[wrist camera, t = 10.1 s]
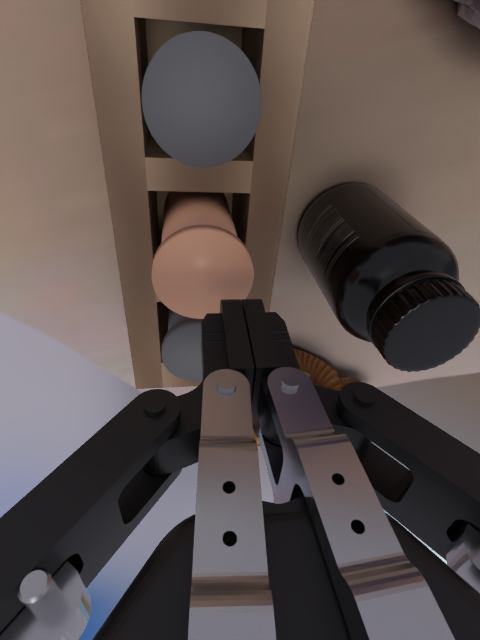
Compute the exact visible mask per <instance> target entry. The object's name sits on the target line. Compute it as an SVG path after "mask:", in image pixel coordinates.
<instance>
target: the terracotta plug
mask: <svg viewBox="0 0 480 640" xmlns="http://www.w3.org/2000/svg"><path fill="white" fill-rule="evenodd" d="M253 280H254V268H253V264H252V260H251V257H250V254H249V252H248V250H247V248H246V246H245V245H244V243H243V242H242V241H241V240H240V239H239V238H238V237H237V234H236V230H235V226H234V223H233V219H232V216H231V212H230V208H229V205H228V201H227V198H226V196H225V195H224V193H220V192H180V191H170V192H169V193H168V195H167V197H166V200H165V204H164V215H163V229H162V242H161V245H160V246H159V248H158V249H157V251H156V253H155V256H154V259H153V265H152V284H153V288H154V291H155V293H156V295H157V296H158V298H159V299H160V301H161V302H162V303H163V304H164V305H165V306H166V307H168V308H169V309H170V310H172V311H173V312H175V313H177V314H180V315H182V316H185V317H189V318H196V319H204V317H205V316H206V314H207V313H220V300H221V299H245V298H246V297H247V296H248V294H249V292H250V290H251V288H252V285H253Z"/></svg>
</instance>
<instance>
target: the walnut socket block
mask: <svg viewBox="0 0 480 640" xmlns="http://www.w3.org/2000/svg"><path fill="white" fill-rule="evenodd" d="M80 1H81V8H82V15H83V22H84V29H85V36H86V43H87V50H88V57H89V64H90V71H91V78H92V85H93V92H94V99H95V106H96V113H97V120H98V127H99V134H100V141H101V147H102V154H103V161H104V168H105V175H106V182H107V189H108V196H109V203H110V210H111V217H112V224H113V231H114V238H115V245H116V252H117V259H118V266H119V273H120V280H121V287H122V294H123V301H124V308H125V314H126V321H127V328H128V335H129V342H130V349H131V356H132V363H133V370H134V377H135V384H136V389H144V388H164V387H185V386H199V385H200V383H201V382H202V381H201V382H195V381H188V380H184V379H181V378H178V377H176V376H174V375H173V374H172V373H170V372H169V371H168V370H167V369H166V367H165V366H164V364H163V361H162V357H161V354H162V342H163V339H164V337H165V335H166V334H167V332H168V311H169V308H168V307H166V306H165V305H164V304H163V303H162V302H161V301H160V299H159V298H158V296H157V295H156V293H155V291H154V288H153V284H152V265H153V259H154V256H155V253H156V251H157V249H158V248H159V246H160V245H161V242H162V229H163V215H164V204H165V200H166V197H167V195H168V193H169V192H170V191H180V192H220V193H224V195H225V196H226V198H227V201H228V205H229V208H230V212H231V216H232V219H233V223H234V226H235V230H236V234H237V237H238V238H239V239H240V240H241V241H242V242H243V243H244V245H245V246H246V248H247V250H248V252H249V254H250V257H251V260H252V264H253V268H254V280H253V285H252V288H251V290H250V292H249V294H248V296H247V297H246V298H245V299H262V301H263V305H264V308H265V312H269V309H270V302H271V295H272V288H273V281H274V274H275V268H276V261H277V254H278V247H279V240H280V233H281V227H282V220H283V213H284V206H285V199H286V192H287V186H288V179H289V172H290V165H291V158H292V151H293V145H294V138H295V131H296V124H297V117H298V110H299V104H300V97H301V90H302V83H303V76H304V69H305V63H306V56H307V49H308V42H309V35H310V28H311V22H312V15H313V8H314V1H315V0H80ZM191 31H206V32H211V33H214V34H217V35H220V36H222V37H224V38H226V39H228V40H230V41H231V42H232V43H234V44H235V45H236V46H237V47H238V48H240V49H241V50H242V51H243V53H244V54H245V55H246V56H247V58H248V59H249V61H250V62H251V64H252V66H253V68H254V70H255V72H256V74H257V77H258V80H259V84H260V89H261V98H262V107H261V115H260V120H259V124H258V127H257V130H256V132H255V134H254V136H253V138H252V140H251V141H250V143H249V144H248V146H247V147H246V148H245V149H244V150H243V151H242V152H241V153H240V154H239V155H238V156H237V157H235V158H234V159H232V160H231V161H229V162H227V163H225V164H222V165H219V166H215V167H208V168H201V167H193V166H189V165H186V164H184V163H181V162H179V161H177V160H175V159H174V158H172V157H171V156H170V155H168V154H167V153H166V152H165V151H164V150H163V149H162V148H161V147H160V146H159V145H158V144H157V142H156V141H155V139H154V138H153V136H152V134H151V132H150V131H149V129H148V126H147V124H146V121H145V117H144V113H143V108H142V85H143V80H144V76H145V73H146V70H147V67H148V65H149V63H150V61H151V60H152V58H153V56H154V55H155V54H156V52H157V51H158V50H159V49H160V48H161V47H162V46H163V44H165V43H166V42H167V41H169V40H170V39H171V38H173V37H175V36H177V35H179V34H182V33H185V32H191Z"/></svg>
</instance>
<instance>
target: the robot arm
mask: <svg viewBox="0 0 480 640" xmlns="http://www.w3.org/2000/svg"><path fill="white" fill-rule="evenodd" d="M201 357H202V379H203V380H202V382H201V383H200V385H199V386H198V387H197V388H196V389H194V390H193V391H191V392H189V393H186V394H183V395H180V396H177V397H176V396H175V395H174V394H173V393H171V392H169V391H166V390H162V389H154V390H149V391H146V392H143V393H142V394H140V395H138V396H137V397H136V398H135V399H134V400H133V401H131V402H130V403H129V404H128V405H127V406H126V407H125V408H124V409H123V410H121V411H120V412H119V413H118V414H117V415H116V416H115V417H113V418H112V419H111V420H110V421H109V422H108V423H107V424H106V425H104V426H103V427H102V428H101V429H100V430H99V431H98V432H97V433H96V434H94V435H93V436H92V437H91V438H90V439H89V440H88V441H86V442H85V443H84V444H83V445H82V446H81V447H80V448H79V449H78V450H76V451H75V452H74V453H73V454H72V455H71V456H70V457H69V458H67V459H66V460H65V461H64V462H63V463H62V464H61V465H59V466H58V467H57V468H56V469H55V470H54V471H53V472H52V473H50V474H49V475H48V476H47V477H46V478H45V479H44V480H43V481H42V482H40V483H39V484H38V485H37V486H36V487H35V488H34V489H33V490H31V491H30V492H29V493H28V494H27V495H26V496H25V497H23V498H22V499H21V500H20V501H19V502H18V503H17V504H16V505H14V506H13V507H12V508H11V509H10V510H9V511H8V512H7V513H5V514H4V515H3V516H2V517H1V518H0V640H78V639H79V638H80V636H81V634H82V633H83V631H84V629H85V627H86V625H87V622H88V620H89V617H90V611H91V600H90V596H89V593H88V591H87V589H86V588H87V587H88V585H89V584H90V583H91V582H92V580H93V579H94V578H95V577H96V576H97V574H98V573H99V572H100V571H101V569H102V568H103V567H104V566H105V565H106V563H107V562H108V561H109V560H110V558H111V557H112V556H113V555H114V554H115V552H116V551H117V550H118V549H119V547H120V546H121V545H122V544H123V543H124V541H125V540H126V539H127V537H128V536H129V535H130V534H131V533H132V531H133V530H134V529H135V528H136V527H137V525H138V524H139V523H140V521H141V520H142V519H143V518H144V517H145V515H146V514H147V513H148V512H149V511H150V509H151V508H152V507H153V506H154V504H155V503H156V502H157V501H158V500H159V498H160V497H161V496H162V495H163V494H164V492H165V491H166V490H167V489H168V487H169V486H170V485H171V484H172V482H173V481H174V480H175V479H176V478H177V476H178V475H179V474H180V472H181V470H182V468H184V467H187V466H189V465H192V464H194V463H197V462H198V477H197V494H196V513H195V515H192V516H191V517H189V518H187V519H185V520H184V521H182V522H181V523H179V524H178V525H177V526H175V527H174V528H173V529H172V530H171V531H170V532H169V533H168V534H167V535H166V536H165V537H164V538H163V540H162V541H161V542H160V543H159V545H158V546H157V547H156V549H155V550H154V552H153V553H152V555H151V556H150V557H149V559H148V560H147V562H146V563H145V565H144V566H143V567H142V569H141V570H140V572H139V573H138V575H137V576H136V578H135V579H134V580H133V582H132V584H131V585H130V586H129V588H128V589H127V591H126V592H125V593H124V595H123V597H122V598H121V599H120V601H119V602H118V604H117V605H116V606H115V608H114V609H113V611H112V612H111V614H110V615H109V617H108V618H107V619H106V621H105V622H104V624H103V625H102V627H101V628H100V629H99V631H98V632H97V634H96V635H95V637H94V638H93V640H480V454H479V453H478V452H476V451H474V450H473V449H471V448H470V447H468V446H466V445H465V444H463V443H462V442H460V441H459V440H457V439H456V438H454V437H452V436H451V435H449V434H448V433H446V432H445V431H443V430H441V429H440V428H438V427H437V426H435V425H433V424H432V423H430V422H429V421H427V420H426V419H424V418H422V417H421V416H419V415H417V414H416V413H415V412H413V411H412V410H410V409H408V408H407V407H405V406H404V405H402V404H400V403H399V402H397V401H396V400H394V399H393V398H391V397H389V396H388V395H386V394H385V393H383V392H381V391H380V390H378V389H377V388H375V387H374V386H372V385H369V384H367V383H363V382H351V383H348V384H346V385H345V386H343V387H342V389H341V391H338V390H333V389H329V388H324V387H321V386H318V385H316V384H314V383H312V381H311V379H310V378H309V376H308V375H307V374H306V373H304V372H303V371H301V370H300V367H299V364H298V361H297V358H296V355H295V352H294V349H293V346H292V343H291V341H290V336H289V333H288V330H287V327H286V324H285V321H284V320H283V319H282V318H281V317H280V316H279V315H278V314H277V313H276V312H265V308H264V305H263V301H262V299H221V300H220V313H207V314H206V316H205V317H204V319H203V321H202V322H201ZM252 418H259V422H260V431H259V441H260V445H261V448H262V452H263V455H264V460H265V463H266V467H267V471H268V475H269V479H270V482H271V486H272V490H273V496H274V503H270V502H265V501H262V495H261V483H260V471H259V459H258V448H257V442H256V440H254V436H253V423H252ZM372 442H374V443H375V444H376V445H378V446H379V447H380V448H382V449H383V450H385V451H386V452H388V453H389V454H390V455H392V456H393V457H394V458H396V459H397V460H398V461H400V462H401V463H403V464H404V465H405V466H406V467H408V468H409V469H410V470H408V469H407V468H405V467H404V466H402V465H401V464H399V463H398V462H397V461H396V460H394V459H393V458H391V457H390V456H389V455H387V454H386V453H384V452H383V451H382V450H380V449H379V448H378V447H376V446H375V445H374V444H372ZM383 509H384V510H386V511H387V512H388V513H389V514H390V515H391V516H393V517H394V518H395V519H396V520H398V521H399V522H400V523H401V524H402V525H404V526H405V527H406V528H407V529H409V530H410V531H411V532H412V533H413V534H415V535H416V536H417V537H418V538H420V539H421V540H422V541H423V542H424V543H426V544H427V545H428V546H429V547H431V548H432V549H433V550H434V551H435V552H437V553H438V554H439V555H440V556H442V557H443V558H444V559H445V560H446V561H447V564H445V563H444V562H443V561H442V560H441V559H440V558H439V557H437V556H436V555H435V554H434V553H433V552H431V551H430V550H429V549H428V548H427V547H426V546H425V545H424V544H422V543H421V542H420V541H419V540H418V539H417V538H415V537H414V536H413V535H412V534H411V533H410V532H409V531H407V530H406V529H405V528H404V527H403V526H401V525H400V524H399V523H398V522H397V521H396V520H394V519H393V518H392V517H390V516H389V515H388V514H386V513H385V512H384V510H383Z"/></svg>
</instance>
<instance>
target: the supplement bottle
mask: <svg viewBox="0 0 480 640" xmlns="http://www.w3.org/2000/svg"><path fill="white" fill-rule="evenodd" d="M298 245H299V249H300V252H301V255H302V257H303V259H304V261H305V263H306V265H307V266H308V268H309V270H310V272H311V273H312V275H313V277H314V279H315V281H316V282H317V284H318V286H319V288H320V289H321V291H322V293H323V295H324V296H325V298H326V300H327V302H328V304H329V305H330V307H331V309H332V311H333V312H334V314H335V316H336V318H337V319H338V321H339V322H340V324H341V325H342V326H343V328H344V329H345V330H346V331H347V332H349V333H350V334H352V335H353V336H355V337H357V338H359V339H362V340H365V341H368V342H372V343H373V344H374V346H375V347H376V348H377V349H378V350H379V352H380V353H381V355H382V356H383V358H384V359H385V360H386V361H387V363H388V364H389V365H391V366H393V367H394V368H395V369H400V370H401V371H408V372H411V371H416V372H417V371H421V370H427V369H430V368H435V367H436V366H438V365H441V364H444V363H445V362H446V361H448V360H451V359H452V358H454V357H455V356H456V355H458V354H459V353H461V352H462V350H463V349H465V348H466V347H467V346H468V345H469V343H470V342H471V341H473V340H474V337H475V335H476V334H477V333H478V329H479V328H480V308H479V304H478V302H477V301H476V300H475V299H474V298H473V297H472V296H471V295H470V294H469V293H468V292H466V291H465V289H464V287H463V286H462V285H461V284H460V283H459V267H458V262H457V260H456V257H455V255H454V253H453V251H452V250H451V249H450V247H449V246H448V245H447V244H445V243H444V242H443V241H442V240H441V239H440V238H439V237H438V236H436V235H435V234H434V233H433V232H431V231H430V230H429V229H428V228H426V227H425V226H424V225H423V224H421V223H420V222H419V221H418V220H416V219H415V218H414V217H413V216H411V215H410V214H409V213H408V212H406V211H405V210H404V209H403V208H401V207H400V206H399V205H398V204H396V203H395V202H394V201H393V200H391V199H390V198H389V197H388V196H386V195H385V194H384V193H382V192H381V191H380V190H378V189H376V188H375V187H373V186H370V185H367V184H362V183H348V184H343V185H339V186H337V187H334V188H332V189H330V190H328V191H326V192H325V193H323V194H322V195H321V196H319V197H318V198H317V199H316V200H315V201H314V202H313V203H312V204H311V205H310V207H309V208H308V209H307V211H306V213H305V214H304V216H303V218H302V221H301V223H300V227H299V231H298Z"/></svg>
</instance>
